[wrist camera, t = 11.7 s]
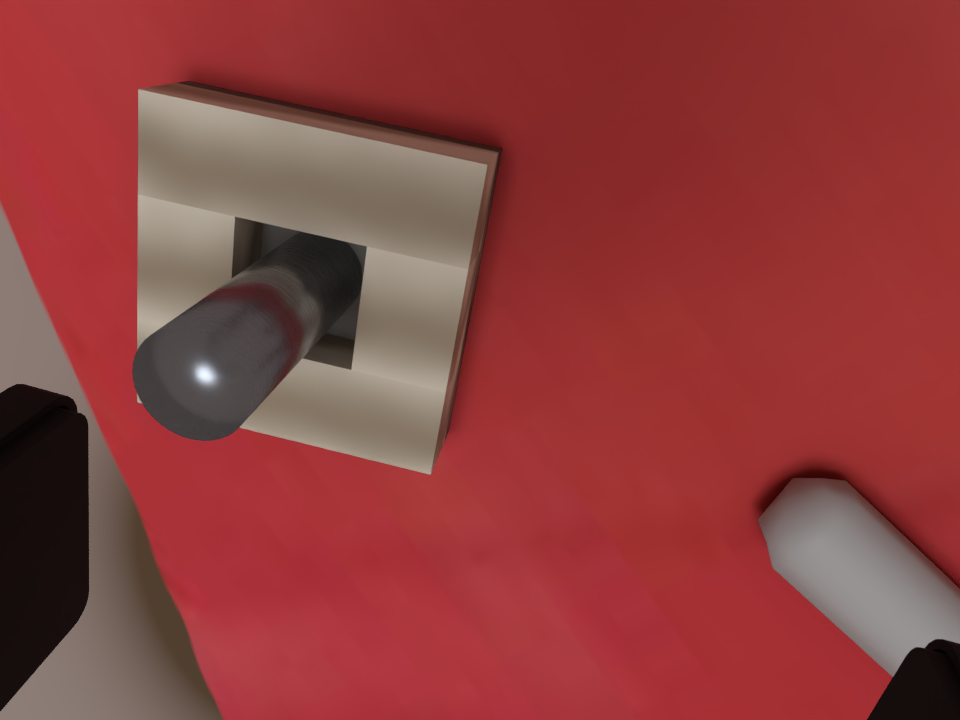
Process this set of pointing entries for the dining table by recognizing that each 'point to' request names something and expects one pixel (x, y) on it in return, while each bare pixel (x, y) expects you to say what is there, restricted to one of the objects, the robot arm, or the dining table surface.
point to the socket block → (333, 214)
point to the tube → (859, 570)
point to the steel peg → (245, 337)
